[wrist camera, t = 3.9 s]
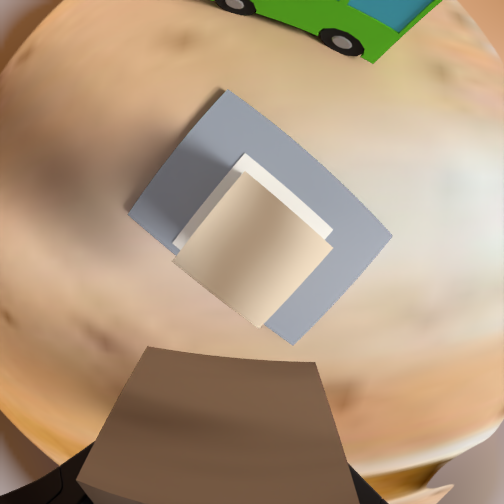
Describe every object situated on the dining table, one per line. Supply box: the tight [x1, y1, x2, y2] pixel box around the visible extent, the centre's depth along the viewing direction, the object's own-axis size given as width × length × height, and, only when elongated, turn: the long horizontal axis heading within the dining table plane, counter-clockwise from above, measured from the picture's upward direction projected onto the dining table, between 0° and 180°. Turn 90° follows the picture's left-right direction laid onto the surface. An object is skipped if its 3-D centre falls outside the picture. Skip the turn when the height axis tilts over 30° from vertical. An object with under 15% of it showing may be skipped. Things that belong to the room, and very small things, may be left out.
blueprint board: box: [128, 89, 393, 345], centre depth 17 cm, size 14×10×1 cm
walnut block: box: [76, 346, 360, 504], centre depth 6 cm, size 5×5×5 cm
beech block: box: [172, 171, 333, 329], centre depth 15 cm, size 5×5×5 cm
